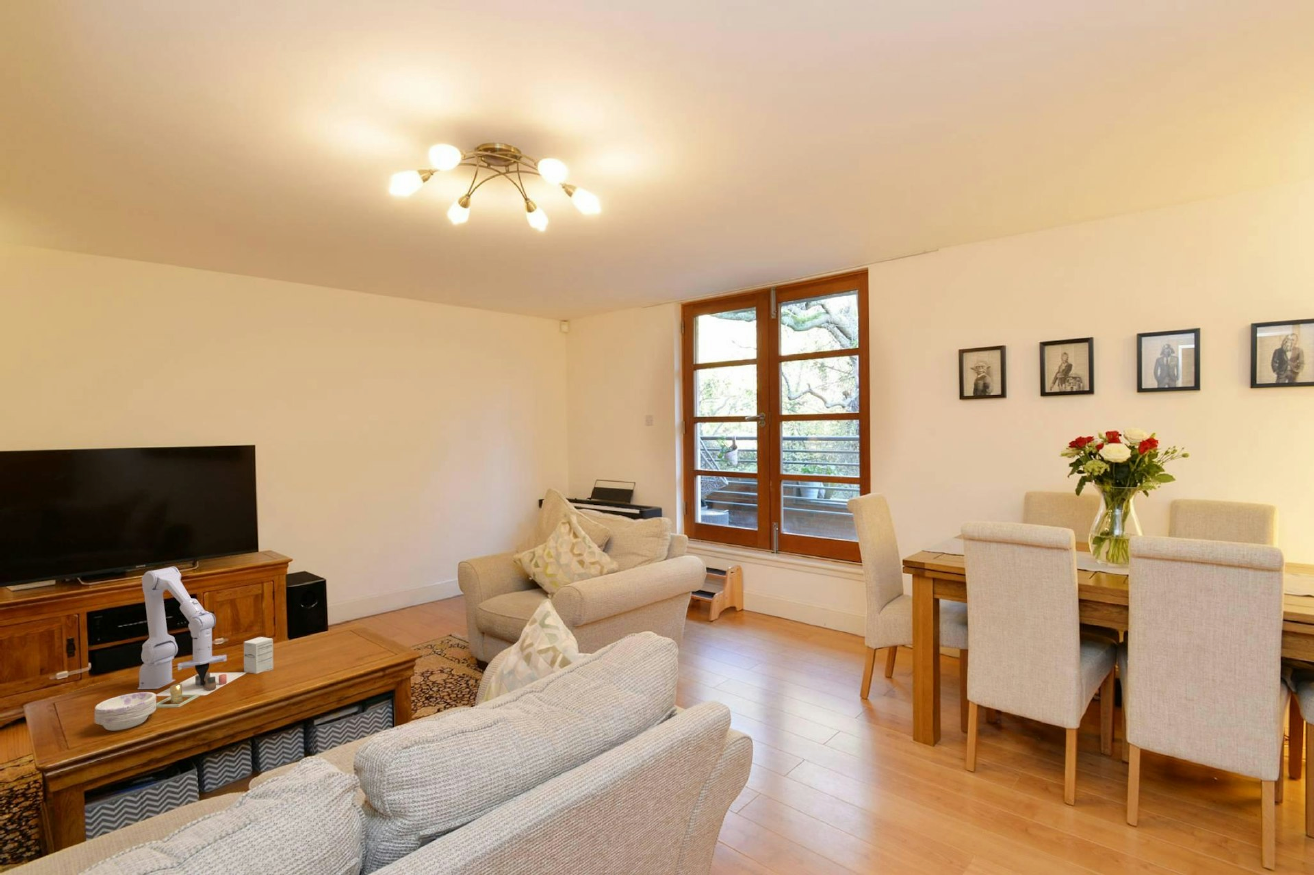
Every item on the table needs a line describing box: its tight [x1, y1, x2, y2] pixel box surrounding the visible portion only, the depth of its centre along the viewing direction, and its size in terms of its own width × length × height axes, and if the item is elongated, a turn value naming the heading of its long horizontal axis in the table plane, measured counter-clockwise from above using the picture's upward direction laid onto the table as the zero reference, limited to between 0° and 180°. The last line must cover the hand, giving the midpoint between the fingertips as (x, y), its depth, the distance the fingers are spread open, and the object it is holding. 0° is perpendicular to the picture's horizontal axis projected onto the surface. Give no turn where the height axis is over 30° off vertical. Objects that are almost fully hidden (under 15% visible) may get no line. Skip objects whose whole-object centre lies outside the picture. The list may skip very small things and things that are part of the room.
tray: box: [156, 694, 200, 709], centre depth 217 cm, size 9×9×2 cm
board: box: [156, 671, 248, 697], centre depth 233 cm, size 19×22×1 cm
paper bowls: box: [94, 691, 157, 732], centre depth 201 cm, size 15×15×8 cm
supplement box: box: [243, 636, 274, 675], centre depth 247 cm, size 7×7×13 cm
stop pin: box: [169, 682, 184, 705], centre depth 217 cm, size 3×3×6 cm
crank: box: [194, 672, 216, 690], centre depth 230 cm, size 13×4×4 cm, turn 52°
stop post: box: [219, 674, 228, 686], centre depth 232 cm, size 2×2×3 cm
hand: (202, 684), depth 229 cm, fingers closed, pressing on crank
